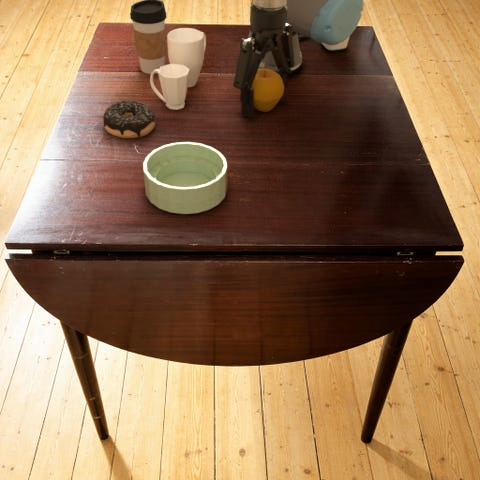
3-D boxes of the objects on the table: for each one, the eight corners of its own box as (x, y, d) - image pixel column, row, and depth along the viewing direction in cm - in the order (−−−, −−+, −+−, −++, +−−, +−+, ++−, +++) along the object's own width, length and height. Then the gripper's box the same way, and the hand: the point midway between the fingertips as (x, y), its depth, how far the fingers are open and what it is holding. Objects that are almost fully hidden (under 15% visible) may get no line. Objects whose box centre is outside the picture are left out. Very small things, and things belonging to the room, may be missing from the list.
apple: (239, 100, 142) (240, 62, 135) (277, 97, 143) (280, 59, 136) (247, 120, 136) (249, 81, 129) (286, 117, 137) (290, 78, 130)
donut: (101, 140, 128) (99, 123, 125) (107, 112, 136) (105, 95, 133) (154, 141, 129) (153, 123, 126) (157, 112, 137) (156, 95, 134)
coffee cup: (175, 71, 151) (172, 7, 140) (145, 79, 147) (139, 14, 136) (159, 58, 155) (154, -5, 144) (129, 65, 152) (122, 2, 141)
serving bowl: (189, 159, 124) (188, 133, 120) (243, 192, 117) (244, 165, 113) (129, 190, 117) (125, 163, 112) (182, 227, 109) (181, 200, 105)
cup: (179, 115, 136) (177, 80, 130) (143, 103, 139) (140, 68, 133) (196, 102, 140) (196, 68, 134) (161, 91, 143) (158, 57, 138)
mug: (192, 95, 143) (190, 45, 134) (162, 85, 145) (159, 37, 137) (218, 75, 150) (219, 27, 141) (190, 66, 152) (189, 19, 144)
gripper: (243, 24, 115) (239, 131, 132) (319, -4, 127) (307, 97, 143) (215, 13, 119) (215, 118, 135) (291, -14, 130) (283, 86, 146)
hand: (262, 107), depth 139 cm, fingers open, 10 cm apart
